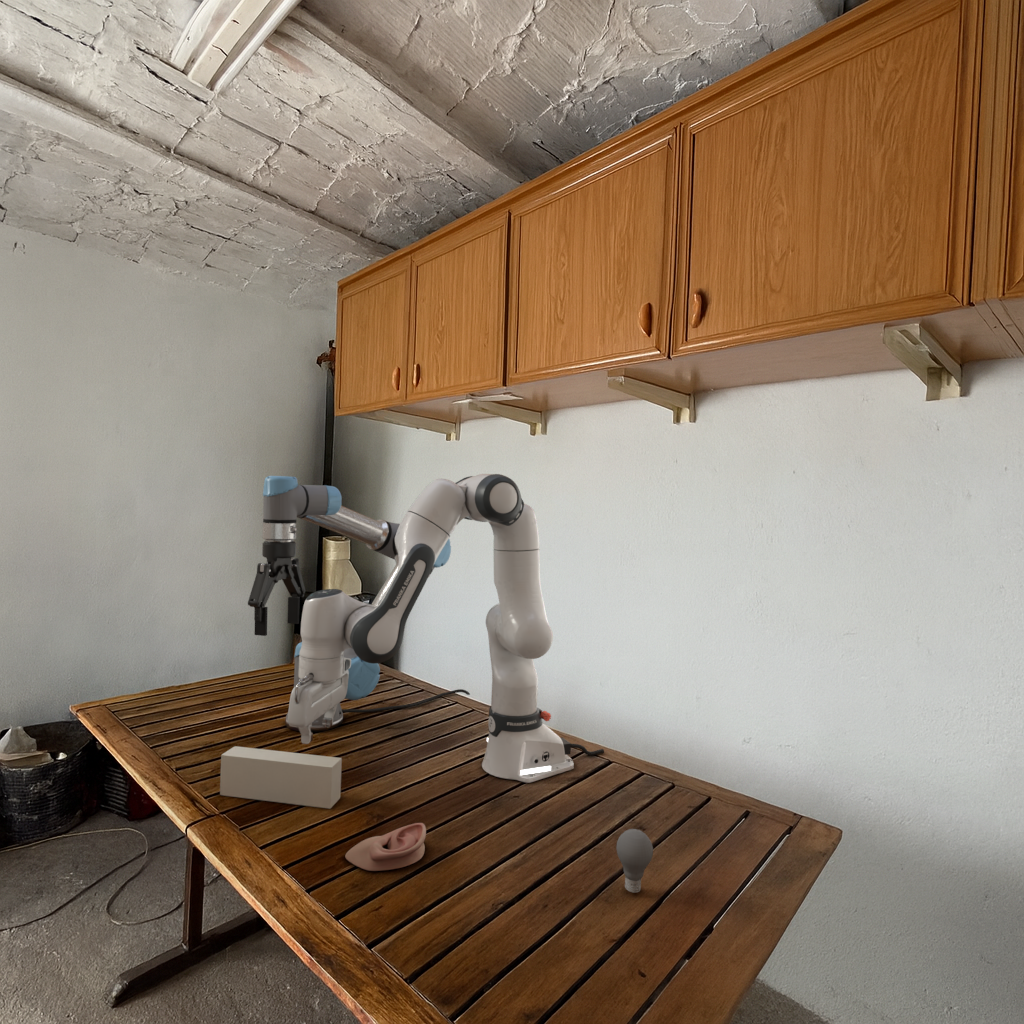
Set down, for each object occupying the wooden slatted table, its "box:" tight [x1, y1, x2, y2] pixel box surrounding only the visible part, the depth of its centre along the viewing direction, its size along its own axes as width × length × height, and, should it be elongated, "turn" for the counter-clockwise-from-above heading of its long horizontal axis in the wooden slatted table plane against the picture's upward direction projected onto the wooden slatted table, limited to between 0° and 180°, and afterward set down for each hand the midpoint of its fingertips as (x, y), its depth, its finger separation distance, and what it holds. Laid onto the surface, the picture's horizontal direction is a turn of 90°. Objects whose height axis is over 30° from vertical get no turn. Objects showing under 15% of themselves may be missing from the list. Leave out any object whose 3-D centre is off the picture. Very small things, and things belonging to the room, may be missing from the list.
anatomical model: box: [344, 822, 427, 872], centre depth 113 cm, size 13×4×12 cm
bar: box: [219, 745, 343, 809], centre depth 133 cm, size 25×5×8 cm, turn 81°
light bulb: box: [615, 828, 654, 894], centre depth 106 cm, size 6×6×10 cm
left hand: (277, 629), depth 152 cm, fingers open, 13 cm apart
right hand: (317, 734), depth 131 cm, fingers open, 8 cm apart
